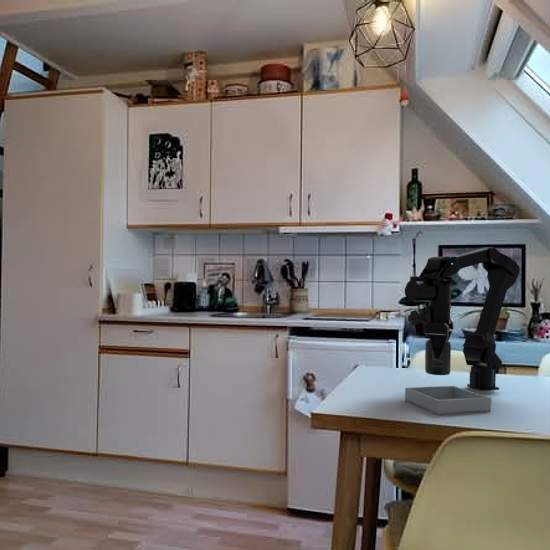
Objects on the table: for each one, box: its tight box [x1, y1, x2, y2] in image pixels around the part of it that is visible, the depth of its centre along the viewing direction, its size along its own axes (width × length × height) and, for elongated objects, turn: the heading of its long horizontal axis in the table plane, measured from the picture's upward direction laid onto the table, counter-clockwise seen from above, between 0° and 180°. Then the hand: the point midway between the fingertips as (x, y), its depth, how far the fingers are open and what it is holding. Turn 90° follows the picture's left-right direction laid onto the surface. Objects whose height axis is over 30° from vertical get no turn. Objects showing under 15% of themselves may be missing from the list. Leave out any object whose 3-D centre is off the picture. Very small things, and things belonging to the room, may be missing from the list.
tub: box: [404, 385, 492, 416], centre depth 130 cm, size 15×15×4 cm
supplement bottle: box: [424, 338, 452, 376], centre depth 145 cm, size 7×7×12 cm
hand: (438, 357), depth 145 cm, fingers closed on supplement bottle, 7 cm apart
